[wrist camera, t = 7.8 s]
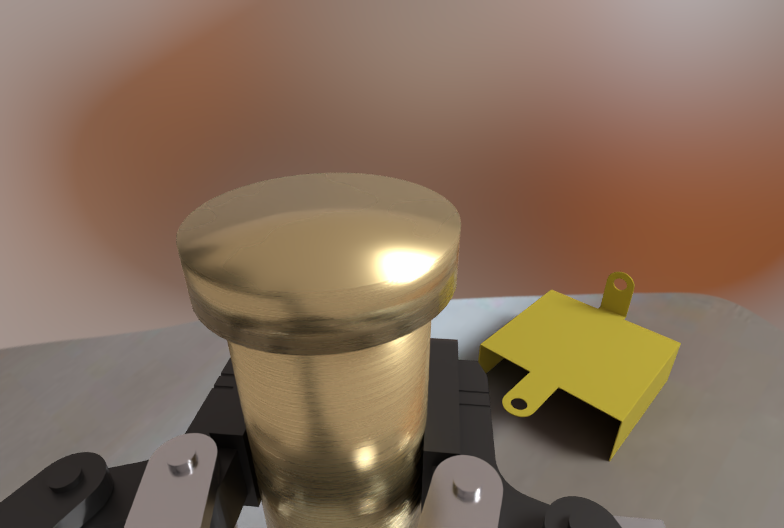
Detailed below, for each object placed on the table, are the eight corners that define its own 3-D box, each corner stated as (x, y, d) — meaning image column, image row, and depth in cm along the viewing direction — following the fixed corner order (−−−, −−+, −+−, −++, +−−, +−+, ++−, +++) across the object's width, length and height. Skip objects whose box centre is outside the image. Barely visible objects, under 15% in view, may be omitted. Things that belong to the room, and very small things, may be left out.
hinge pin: (251, 697, 12) (110, 281, 6) (299, 526, 16) (241, 169, 10) (429, 721, 12) (464, 300, 6) (434, 540, 15) (458, 176, 10)
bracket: (417, 313, 33) (533, 240, 42) (415, 397, 37) (522, 314, 46) (656, 444, 23) (739, 314, 33) (620, 539, 27) (703, 398, 36)
